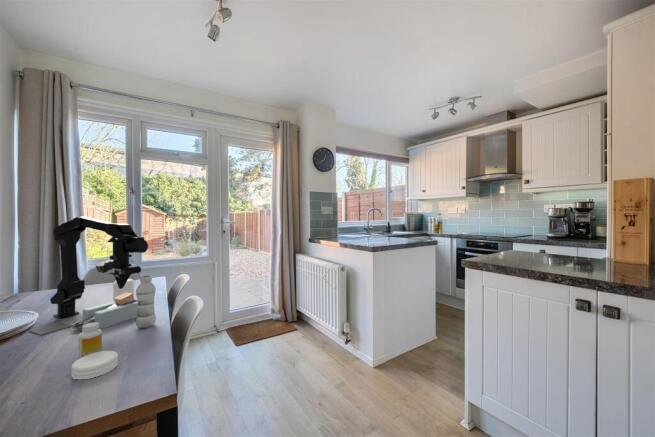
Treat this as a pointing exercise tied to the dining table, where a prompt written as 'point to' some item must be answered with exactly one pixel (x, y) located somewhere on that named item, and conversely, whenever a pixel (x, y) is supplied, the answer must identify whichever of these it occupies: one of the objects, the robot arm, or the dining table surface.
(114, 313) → the grey-green channel block
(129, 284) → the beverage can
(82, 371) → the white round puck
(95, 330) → the supplement bottle
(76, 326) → the lever
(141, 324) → the plastic bottle
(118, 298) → the tile
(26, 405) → the dining table surface
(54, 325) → the pad
